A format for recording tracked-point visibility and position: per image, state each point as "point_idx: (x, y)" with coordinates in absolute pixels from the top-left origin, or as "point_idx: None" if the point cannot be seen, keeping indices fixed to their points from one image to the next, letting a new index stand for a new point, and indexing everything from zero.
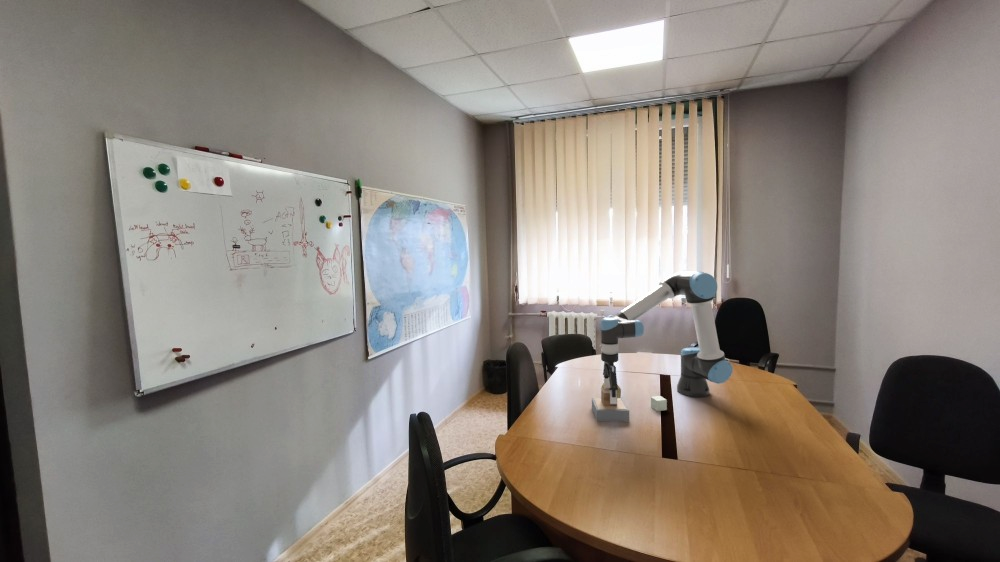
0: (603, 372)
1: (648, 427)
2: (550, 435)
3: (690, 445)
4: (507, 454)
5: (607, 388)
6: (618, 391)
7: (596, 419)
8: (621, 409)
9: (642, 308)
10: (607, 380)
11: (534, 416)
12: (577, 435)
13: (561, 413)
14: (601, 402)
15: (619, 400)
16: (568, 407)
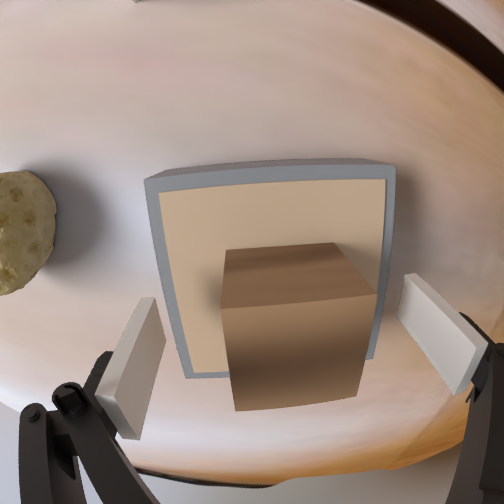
0: (64, 470)
1: (418, 82)
2: (414, 422)
3: (501, 19)
4: (448, 445)
5: (235, 371)
6: (14, 192)
7: None
8: (383, 219)
9: None
10: (132, 404)
11: (294, 468)
12: None
13: (269, 429)
14: None
15: (211, 207)
16: (206, 414)
